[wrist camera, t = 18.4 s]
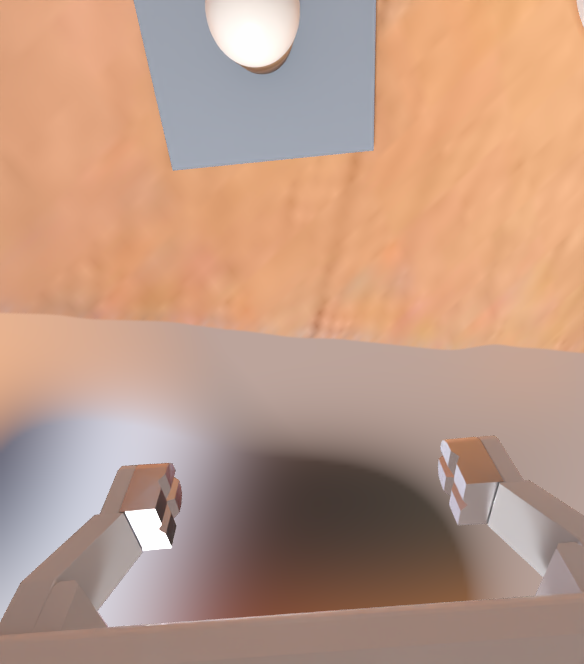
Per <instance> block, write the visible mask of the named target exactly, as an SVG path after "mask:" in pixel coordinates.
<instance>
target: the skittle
mask: <svg viewBox="0 0 584 664" xmlns="http://www.w3.org/2000/svg"><path fill="white" fill-rule="evenodd" d="M205 12H206V18H207V23H208V26H209V29H210V32H211V34H212V36H213V38H214V40H215V42H216V44H217V45H218V46H219V48H220V49H221V50H222V51H223V52H224V54H225V55H227V56H228V57H229V58H230V59H231V60H233V61H234V62H236V63H237V64H239V65H240V66H242V67H243V68H245V69H246V70H248V71H250V72H252V73H255V74H269V73H272V72H274V71H276V70H277V69H279V68H280V67H281V66H282V65H283V64H284V63H285V61H286V60H287V58H288V56H289V54H290V51H291V48H292V45H293V42H294V39H295V36H296V33H297V30H298V26H299V20H300V2H299V0H205Z"/></svg>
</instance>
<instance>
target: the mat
mask: <svg viewBox="0 0 584 664" xmlns="http://www.w3.org/2000/svg"><path fill="white" fill-rule="evenodd" d="M299 2H300V20H299V26H298V30H297V33H296V36H295V39H294V42H293V45H292V48H291V51H290V54H289V56H288V58H287V60H286V61H285V63H284V64H283V65H282V66H281V67H280V68H279V69H277V70H276V71H274V72H272V73H269V74H255V73H252V72H250V71H248V70H246V69H245V68H243V67H242V66H240V65H239V64H237V63H236V62H234V61H233V60H231V59H230V58H229V57H228V56H227V55H225V54H224V52H223V51H222V50H221V49H220V48H219V46H218V45H217V44H216V42H215V40H214V38H213V36H212V34H211V32H210V29H209V26H208V23H207V18H206V12H205V0H134V4H135V8H136V13H137V17H138V22H139V26H140V30H141V35H142V39H143V43H144V48H145V52H146V56H147V61H148V65H149V69H150V74H151V78H152V82H153V87H154V91H155V95H156V100H157V104H158V108H159V113H160V117H161V121H162V126H163V130H164V134H165V139H166V143H167V147H168V152H169V156H170V161H171V165H172V169H173V170H183V169H193V168H203V167H213V166H223V165H233V164H243V163H253V162H263V161H273V160H283V159H293V158H303V157H313V156H323V155H333V154H343V153H353V152H363V151H373V150H374V90H375V27H376V0H299Z"/></svg>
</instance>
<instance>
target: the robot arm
mask: <svg viewBox="0 0 584 664" xmlns="http://www.w3.org/2000/svg"><path fill="white" fill-rule="evenodd" d="M577 6H578V12H579V15H580V19H581V21H582V24H583V26H584V0H577ZM440 449H441V451H442V454H443V456H441V457H440V458H439V461H438V472H439V479H440V482H441V485H442V488H443V490H444V492H446V493H447V494H448V495H450V496H451V497H450V503H449V505H450V508H451V510H452V513H453V515H454V517H455V520H456V522H457V525H470V524H471V525H472V524H488V526H489V527H490V528H491V529H492V530H493V531H494V532H495V533H496V534H497V535H499V536H500V537H501V538H502V539H503V540H504V541H505V542H506V543H507V544H508V545H509V546H510V547H512V548H513V549H514V550H515V551H516V552H517V553H518V554H519V555H520V556H521V557H522V558H523V559H524V560H525V561H526V562H527V563H529V564H530V565H531V566H532V567H533V568H534V569H535V570H536V571H537V572H538V573H539V574H540V575H541V576H542V577H543V579H542V581H541V583H540V586H539V588H538V590H537V593H536V595H535V596H527V597H514V598H500V599H486V600H473V601H459V602H445V603H431V604H418V605H404V606H391V607H377V608H364V609H349V610H335V611H322V612H309V613H295V614H283V615H269V616H255V617H242V618H229V619H214V620H200V621H187V622H175V623H160V624H146V625H133V626H119V627H108V626H107V624H106V622H105V621H104V620H103V618H102V617H101V615H100V614H99V613H98V610H99V608H100V607H101V606H102V605H103V603H104V602H105V601H106V599H107V598H108V597H109V596H110V594H111V593H112V592H113V590H114V589H115V588H116V586H117V585H118V584H119V583H120V581H121V580H122V579H123V577H124V576H125V575H126V573H127V572H128V571H129V570H130V568H131V567H132V566H133V564H134V563H135V562H136V561H137V559H138V558H139V557H140V555H141V554H142V552H143V550H152V549H162V548H171V547H172V543H173V538H174V534H175V530H176V524H175V521H174V518H175V517H176V515H177V514H178V513H179V512H180V508H181V503H182V490H181V484H180V481H179V480H178V479H176V478H175V477H174V475H175V471H176V470H175V468H174V466H173V463H161V464H146V465H145V464H144V465H130V466H122V467H121V468H120V469H119V470H118V472H117V474H116V476H115V479H114V481H113V484H112V486H111V488H110V491H109V493H108V495H107V498H106V500H105V503H104V505H103V508H102V510H101V513H100V514H99V515H94V516H93V517H92V518H91V519H90V520H89V521H88V522H87V523H85V524H84V525H83V526H82V527H81V528H80V529H79V530H78V531H77V532H76V533H74V534H73V535H72V536H71V537H70V538H69V539H68V540H67V541H66V542H65V543H63V544H62V545H61V546H60V547H59V548H58V549H57V550H56V551H55V552H54V553H53V554H51V555H50V556H49V557H48V558H47V559H46V560H45V561H44V562H43V563H42V564H41V565H39V566H38V567H37V568H36V569H35V570H34V571H33V572H32V573H31V574H30V575H29V576H27V577H26V578H25V579H24V580H23V581H22V582H21V583H20V585H19V587H18V589H17V591H16V593H15V595H14V597H13V598H12V600H11V602H10V604H9V606H8V608H7V610H6V612H5V614H4V616H3V618H2V620H1V622H0V664H584V516H583V515H582V514H580V513H579V512H577V511H576V510H574V509H573V508H571V507H570V506H568V505H567V504H565V503H564V502H562V501H560V500H559V499H557V498H556V497H554V496H553V495H551V494H550V493H548V492H547V491H545V490H544V489H542V488H541V487H539V486H537V485H536V484H534V483H533V482H531V481H530V480H524V479H523V478H522V476H521V475H520V473H519V471H518V470H517V468H516V467H515V465H514V463H513V462H512V460H511V459H510V457H509V455H508V454H507V452H506V451H505V449H504V447H503V446H502V444H501V443H500V441H499V439H498V438H497V437H496V436H483V437H468V438H458V439H447V440H443V441H442V443H441V447H440Z"/></svg>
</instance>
